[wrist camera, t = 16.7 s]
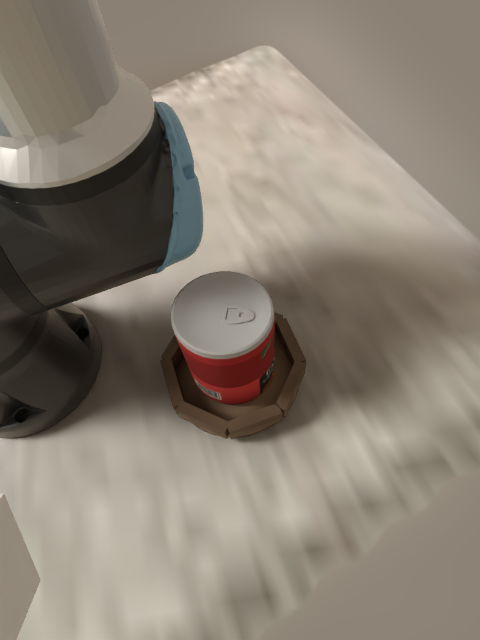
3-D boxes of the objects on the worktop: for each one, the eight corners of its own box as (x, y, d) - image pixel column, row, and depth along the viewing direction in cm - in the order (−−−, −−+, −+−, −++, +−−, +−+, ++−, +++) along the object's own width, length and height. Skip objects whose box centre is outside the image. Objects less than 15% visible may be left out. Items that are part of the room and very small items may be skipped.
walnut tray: (147, 404, 42) (138, 392, 40) (208, 302, 48) (204, 287, 45) (267, 460, 39) (266, 452, 36) (318, 343, 44) (320, 329, 42)
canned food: (281, 401, 40) (282, 346, 31) (196, 413, 40) (171, 363, 31) (268, 330, 44) (265, 263, 35) (190, 341, 44) (167, 277, 35)
